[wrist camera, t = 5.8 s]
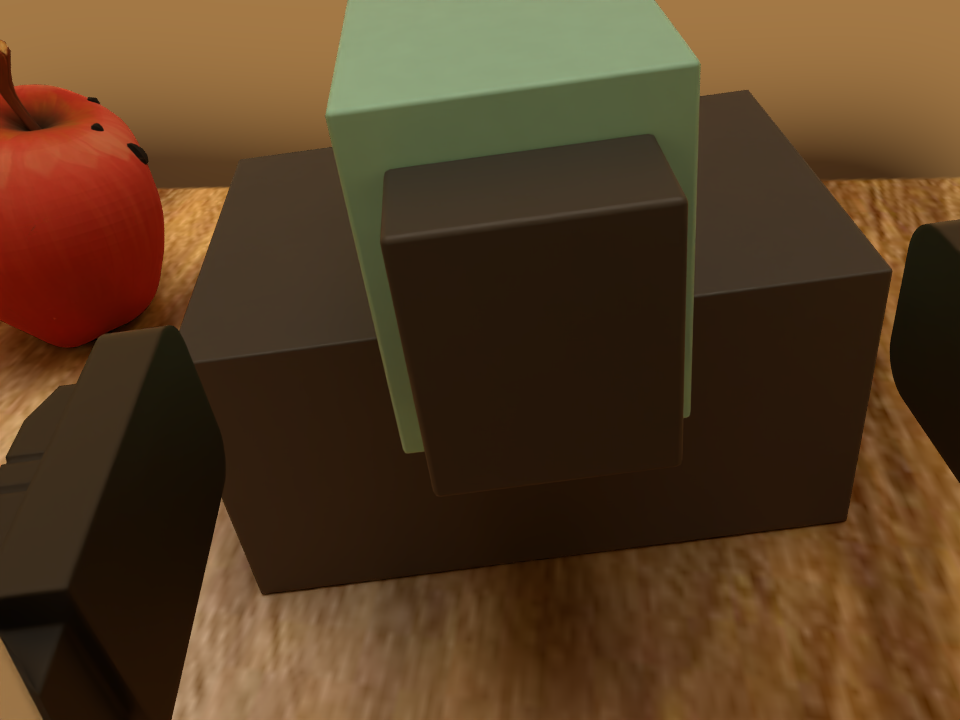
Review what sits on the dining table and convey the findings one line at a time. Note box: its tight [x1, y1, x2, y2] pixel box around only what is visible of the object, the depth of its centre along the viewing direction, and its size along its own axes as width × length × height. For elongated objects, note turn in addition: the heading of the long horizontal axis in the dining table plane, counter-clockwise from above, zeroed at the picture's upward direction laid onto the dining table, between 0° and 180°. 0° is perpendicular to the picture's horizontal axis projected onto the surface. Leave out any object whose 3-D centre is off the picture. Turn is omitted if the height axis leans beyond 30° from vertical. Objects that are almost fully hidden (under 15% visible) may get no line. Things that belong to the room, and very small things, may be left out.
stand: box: [179, 90, 892, 594], centre depth 20 cm, size 12×8×6 cm, turn 93°
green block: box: [325, 0, 701, 497], centre depth 15 cm, size 12×4×5 cm, turn 3°
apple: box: [0, 40, 164, 347], centre depth 25 cm, size 8×7×10 cm
